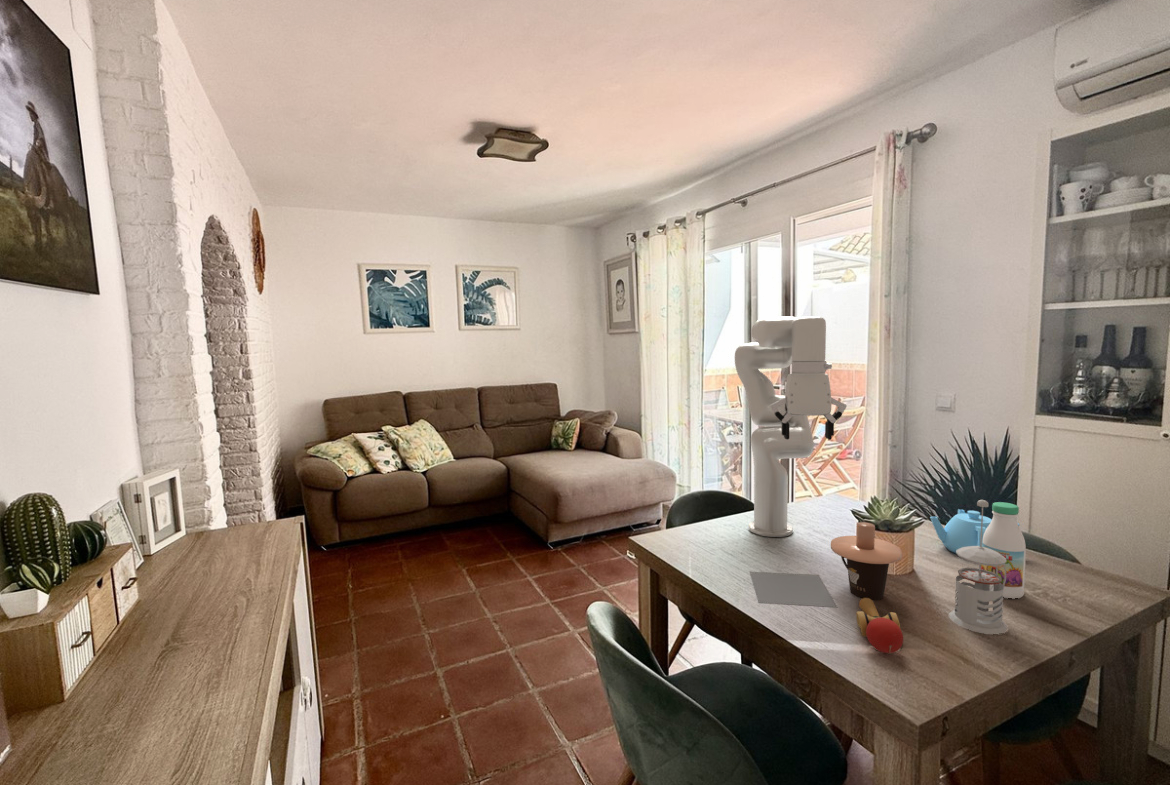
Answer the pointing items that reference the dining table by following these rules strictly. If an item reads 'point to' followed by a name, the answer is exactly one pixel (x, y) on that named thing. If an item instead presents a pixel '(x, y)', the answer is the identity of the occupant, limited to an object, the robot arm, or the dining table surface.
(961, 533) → the teapot
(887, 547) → the lid
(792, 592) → the mat
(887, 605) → the dining table surface
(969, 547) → the french press
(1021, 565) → the milk bottle
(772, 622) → the dining table surface
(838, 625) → the dining table surface
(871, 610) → the kendama
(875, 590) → the coffee mug
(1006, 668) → the dining table surface
